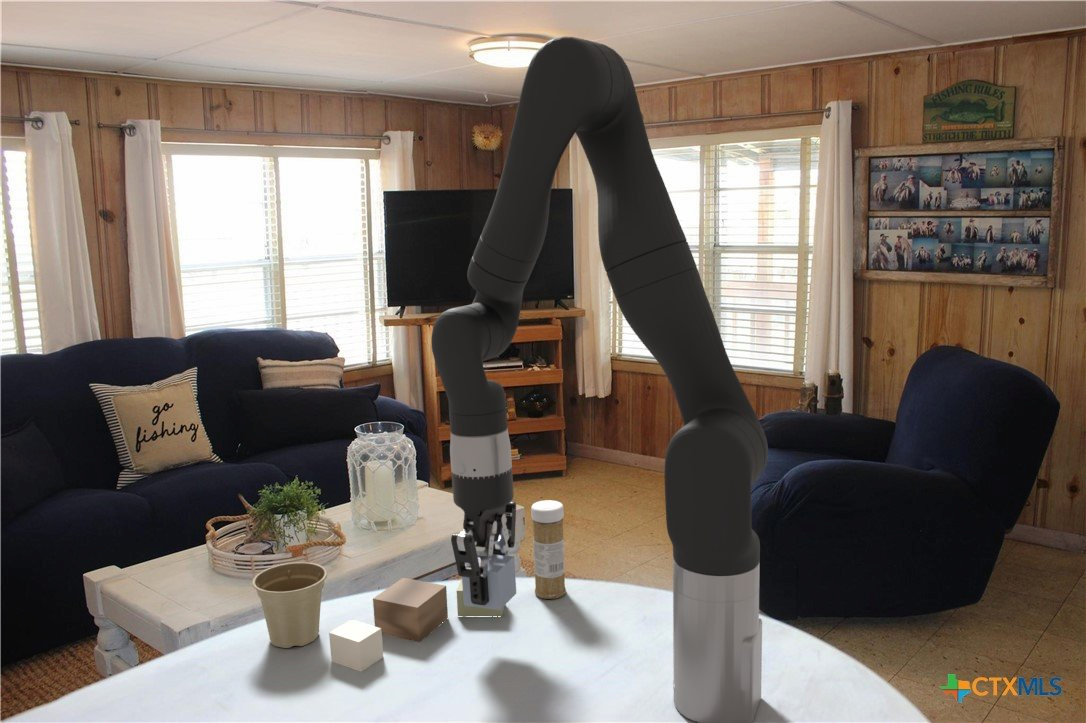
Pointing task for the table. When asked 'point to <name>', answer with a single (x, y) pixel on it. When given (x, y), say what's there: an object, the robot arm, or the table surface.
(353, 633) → the cream block
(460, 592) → the olive block
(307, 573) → the flower pot
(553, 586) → the sprinkles bottle
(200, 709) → the table surface
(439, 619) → the walnut block
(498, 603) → the slate block
